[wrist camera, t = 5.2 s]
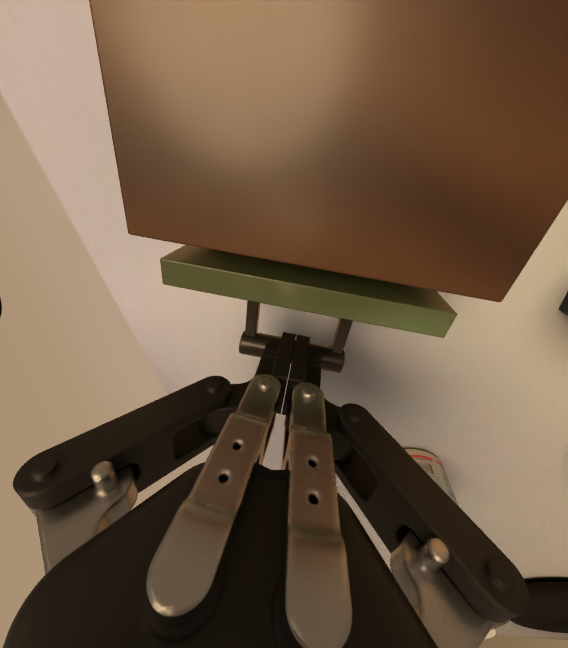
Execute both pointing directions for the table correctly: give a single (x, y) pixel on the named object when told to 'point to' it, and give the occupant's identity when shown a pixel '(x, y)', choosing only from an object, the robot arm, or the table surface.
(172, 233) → the cabinet
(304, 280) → the drawer
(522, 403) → the table surface
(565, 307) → the watch
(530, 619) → the desk fan
